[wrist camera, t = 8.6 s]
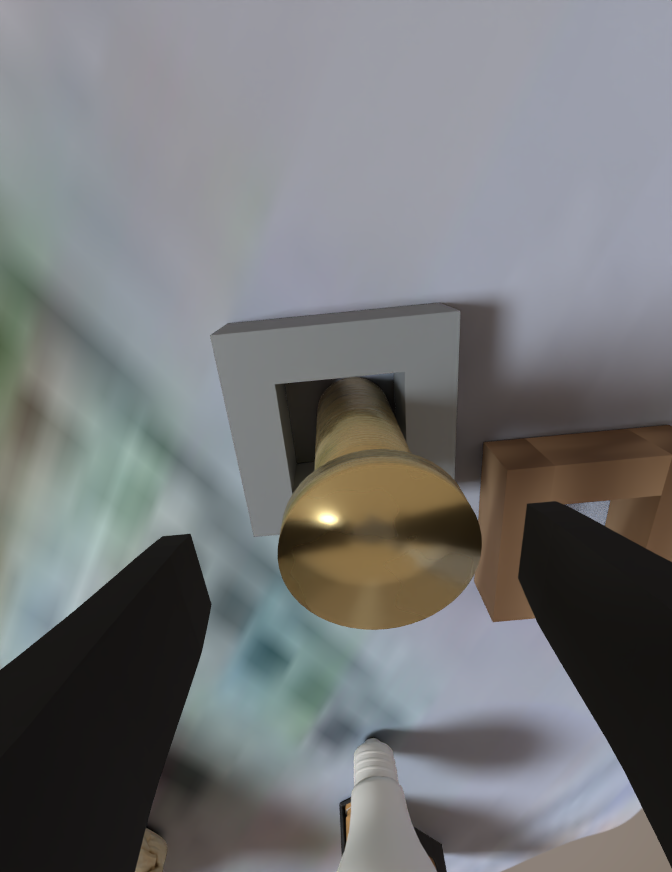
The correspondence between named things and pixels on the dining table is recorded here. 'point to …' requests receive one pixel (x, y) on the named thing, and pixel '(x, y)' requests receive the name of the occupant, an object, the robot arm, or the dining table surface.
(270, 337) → the socket block
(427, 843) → the ammunition clip
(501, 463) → the brown wooden square frame
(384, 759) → the lightbulb
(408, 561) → the pin
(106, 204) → the dining table surface
